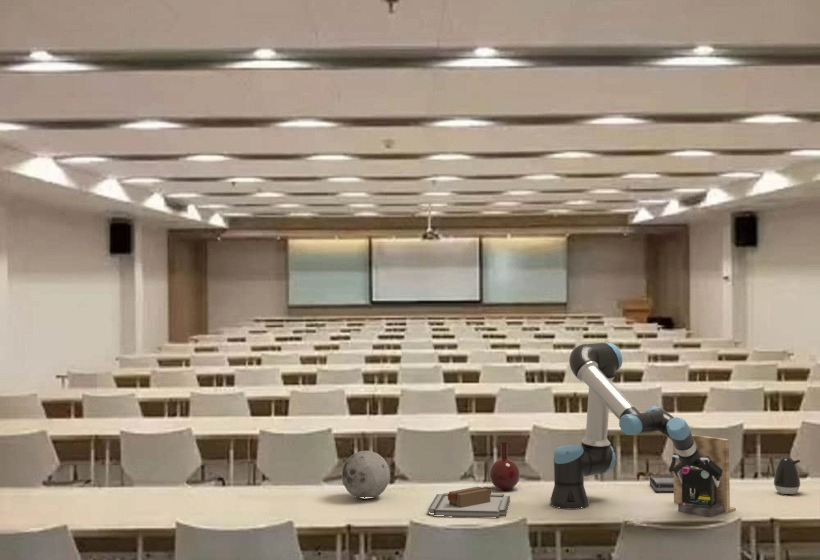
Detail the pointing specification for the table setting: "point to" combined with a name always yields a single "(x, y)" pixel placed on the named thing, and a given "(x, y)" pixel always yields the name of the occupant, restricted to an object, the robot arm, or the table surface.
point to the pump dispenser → (787, 476)
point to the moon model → (365, 474)
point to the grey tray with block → (470, 503)
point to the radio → (662, 483)
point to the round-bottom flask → (504, 471)
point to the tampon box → (697, 488)
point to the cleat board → (720, 456)
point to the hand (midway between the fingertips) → (700, 482)
